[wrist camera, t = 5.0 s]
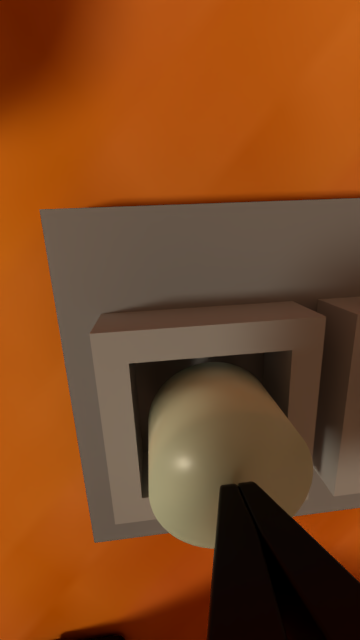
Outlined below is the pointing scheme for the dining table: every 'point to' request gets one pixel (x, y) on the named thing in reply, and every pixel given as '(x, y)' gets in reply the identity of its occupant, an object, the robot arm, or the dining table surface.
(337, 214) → the panel
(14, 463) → the dining table surface
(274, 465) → the button sage
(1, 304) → the dining table surface
